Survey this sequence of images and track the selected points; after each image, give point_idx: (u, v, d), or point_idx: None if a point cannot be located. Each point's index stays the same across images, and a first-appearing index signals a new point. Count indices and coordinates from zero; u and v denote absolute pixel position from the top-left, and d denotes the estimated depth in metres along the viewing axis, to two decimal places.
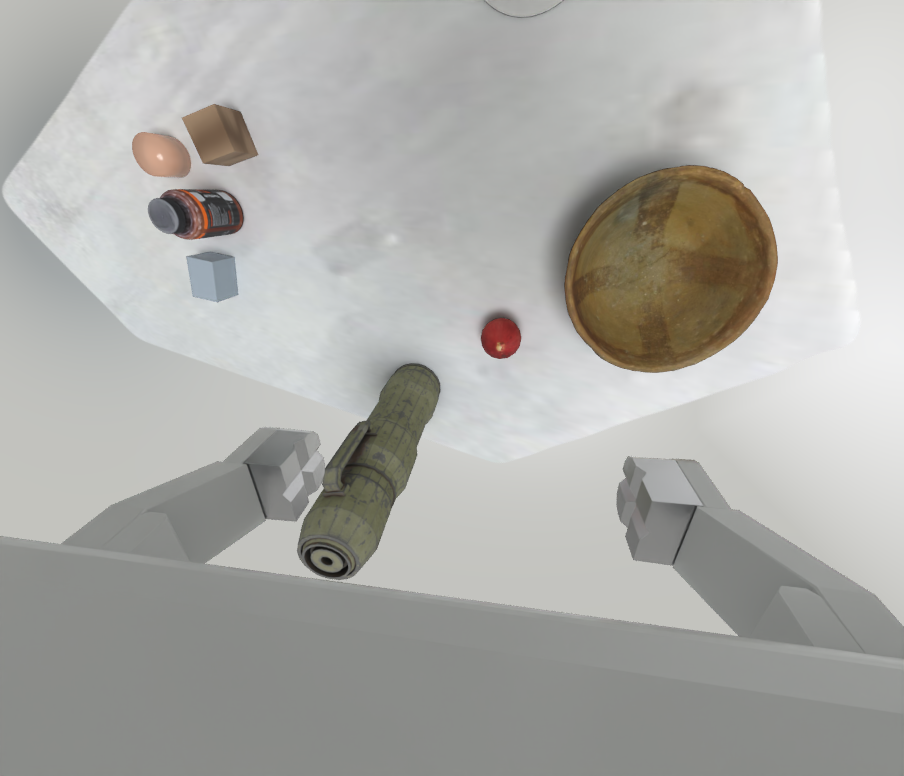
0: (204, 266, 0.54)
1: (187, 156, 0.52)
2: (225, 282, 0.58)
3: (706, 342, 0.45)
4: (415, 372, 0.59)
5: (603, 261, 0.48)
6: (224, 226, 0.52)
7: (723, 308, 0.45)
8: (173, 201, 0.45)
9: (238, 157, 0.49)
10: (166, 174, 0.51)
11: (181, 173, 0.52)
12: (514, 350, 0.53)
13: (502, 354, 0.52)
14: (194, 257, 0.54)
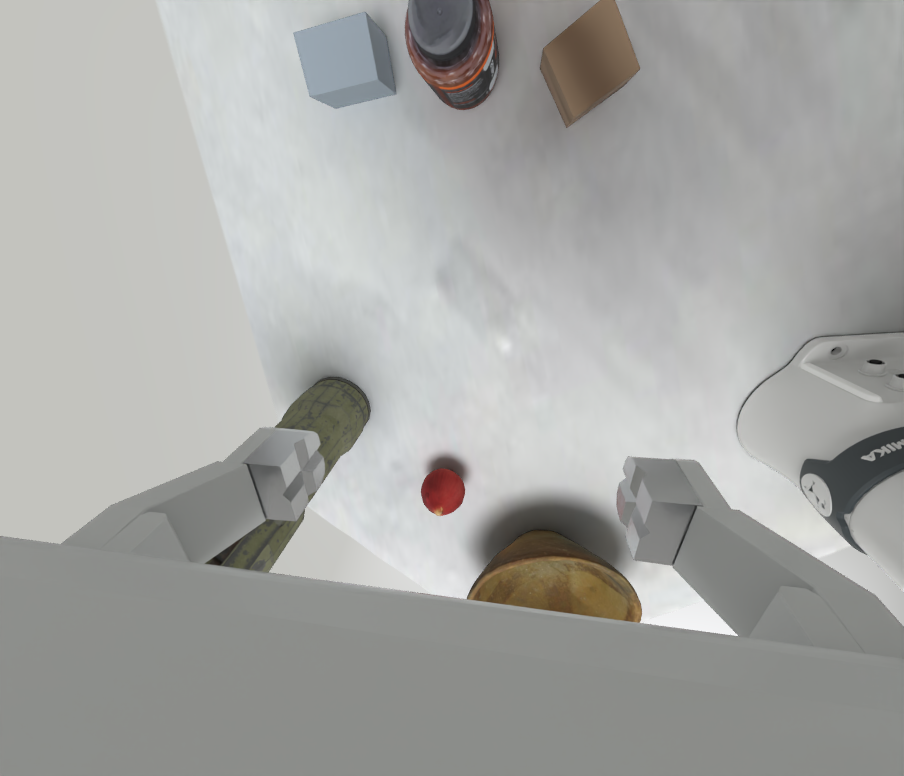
0: (362, 59, 0.29)
1: None
2: (349, 96, 0.32)
3: None
4: (360, 419, 0.47)
5: None
6: (447, 98, 0.29)
7: None
8: (473, 27, 0.23)
9: (560, 103, 0.30)
10: None
11: None
12: None
13: (430, 510, 0.48)
14: (370, 30, 0.28)
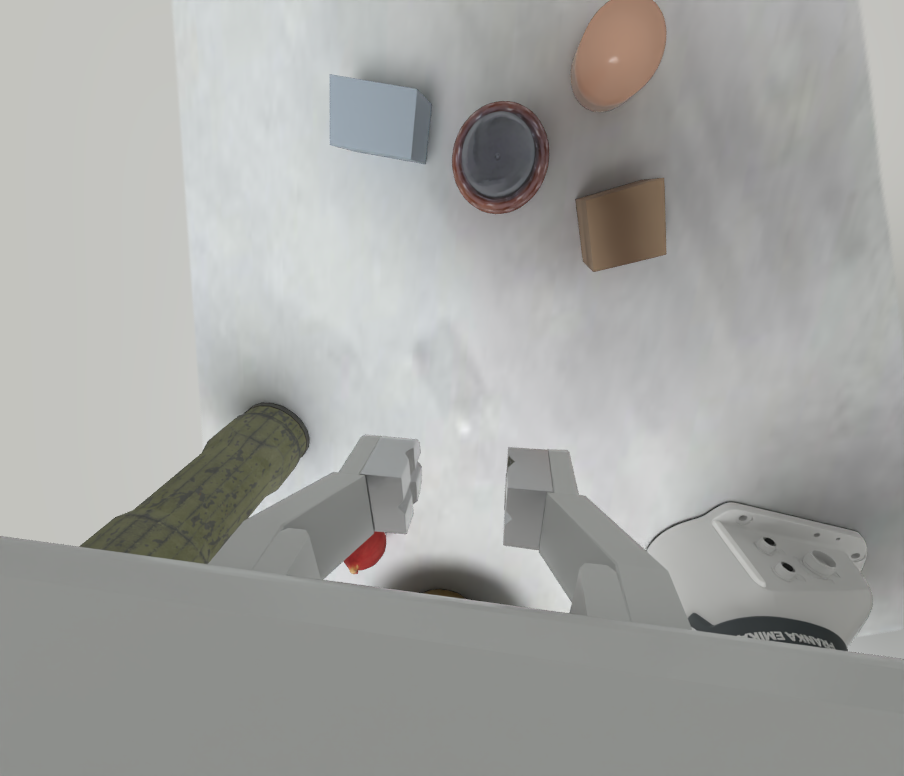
0: (400, 134, 0.26)
1: (603, 110, 0.27)
2: (375, 154, 0.28)
3: None
4: (295, 459, 0.43)
5: None
6: None
7: None
8: (526, 178, 0.21)
9: (584, 244, 0.30)
10: (579, 75, 0.24)
11: (577, 92, 0.26)
12: None
13: (345, 563, 0.46)
14: (416, 108, 0.25)
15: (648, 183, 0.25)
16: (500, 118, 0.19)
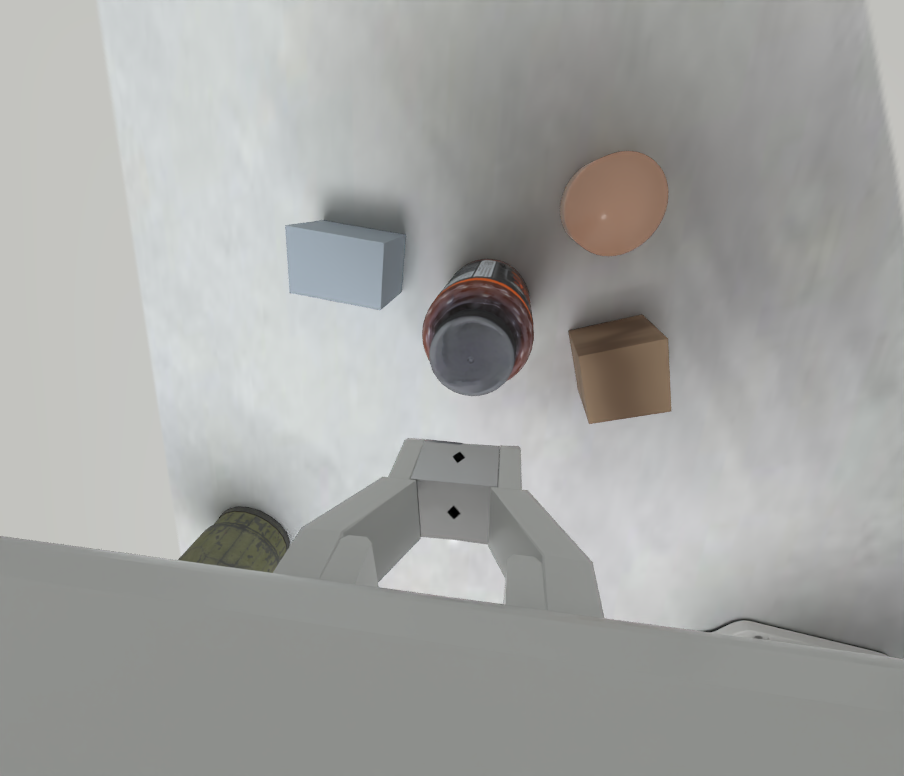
0: (367, 285, 0.23)
1: None
2: None
3: None
4: (273, 570, 0.40)
5: None
6: None
7: None
8: None
9: (579, 382, 0.27)
10: (569, 228, 0.21)
11: (567, 232, 0.23)
12: None
13: None
14: (385, 259, 0.22)
15: (649, 343, 0.22)
16: (472, 324, 0.16)
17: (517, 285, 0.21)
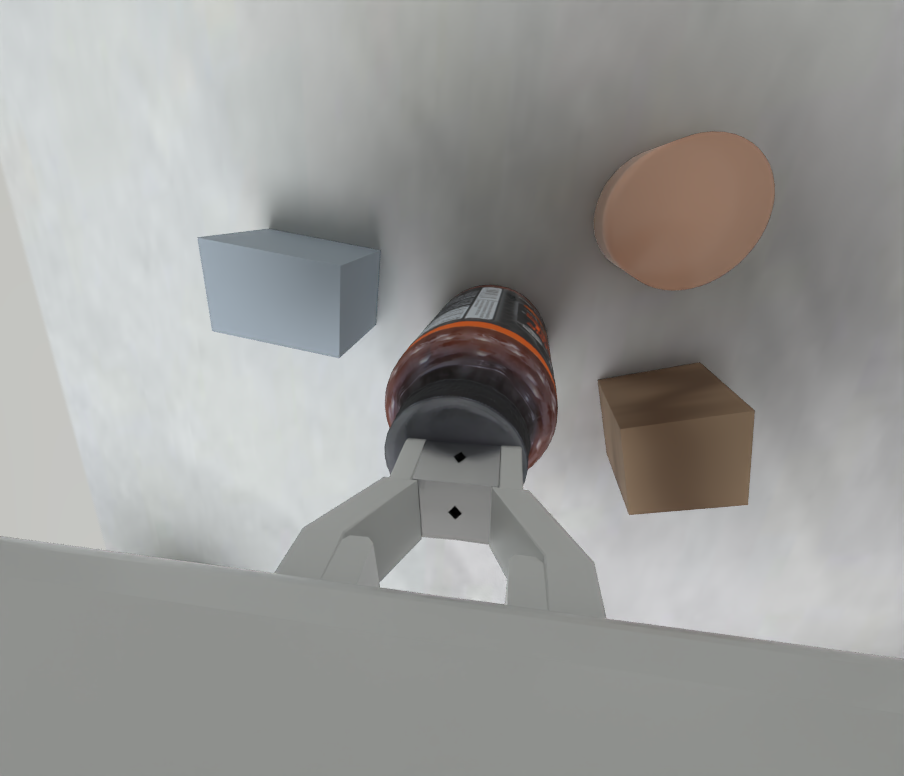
0: (319, 324, 0.16)
1: None
2: None
3: None
4: None
5: None
6: None
7: None
8: None
9: (612, 450, 0.20)
10: (613, 248, 0.14)
11: (605, 252, 0.16)
12: None
13: None
14: (343, 288, 0.15)
15: (726, 415, 0.15)
16: (455, 411, 0.09)
17: (532, 329, 0.14)
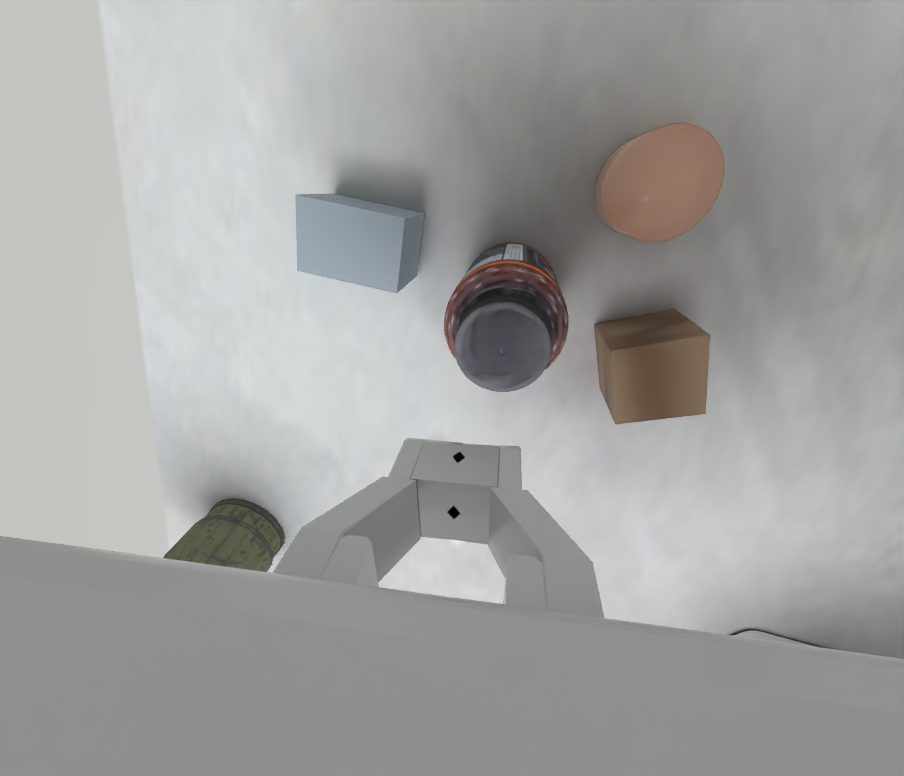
0: (383, 265, 0.21)
1: None
2: None
3: None
4: (267, 566, 0.38)
5: None
6: None
7: None
8: None
9: (604, 379, 0.25)
10: (609, 209, 0.19)
11: (603, 215, 0.21)
12: None
13: None
14: (404, 236, 0.20)
15: (689, 339, 0.20)
16: (506, 311, 0.14)
17: (549, 271, 0.19)
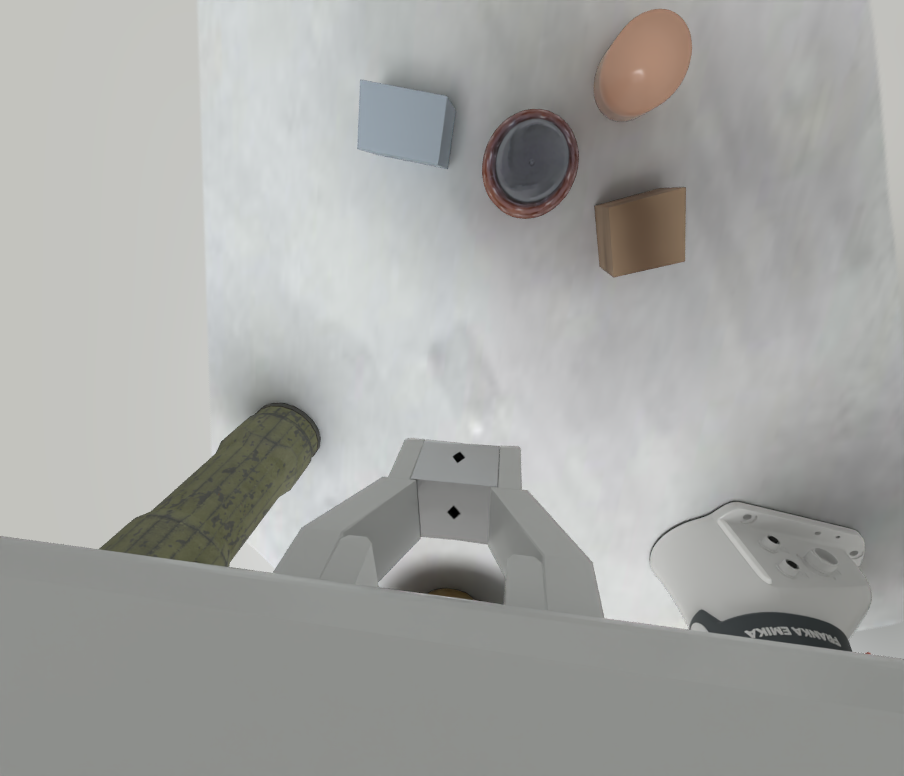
0: (428, 139, 0.26)
1: (624, 120, 0.28)
2: (399, 158, 0.29)
3: None
4: (308, 459, 0.43)
5: None
6: None
7: None
8: None
9: (603, 249, 0.30)
10: (605, 87, 0.25)
11: (600, 101, 0.27)
12: None
13: None
14: (445, 114, 0.25)
15: (670, 192, 0.26)
16: (536, 125, 0.20)
17: None
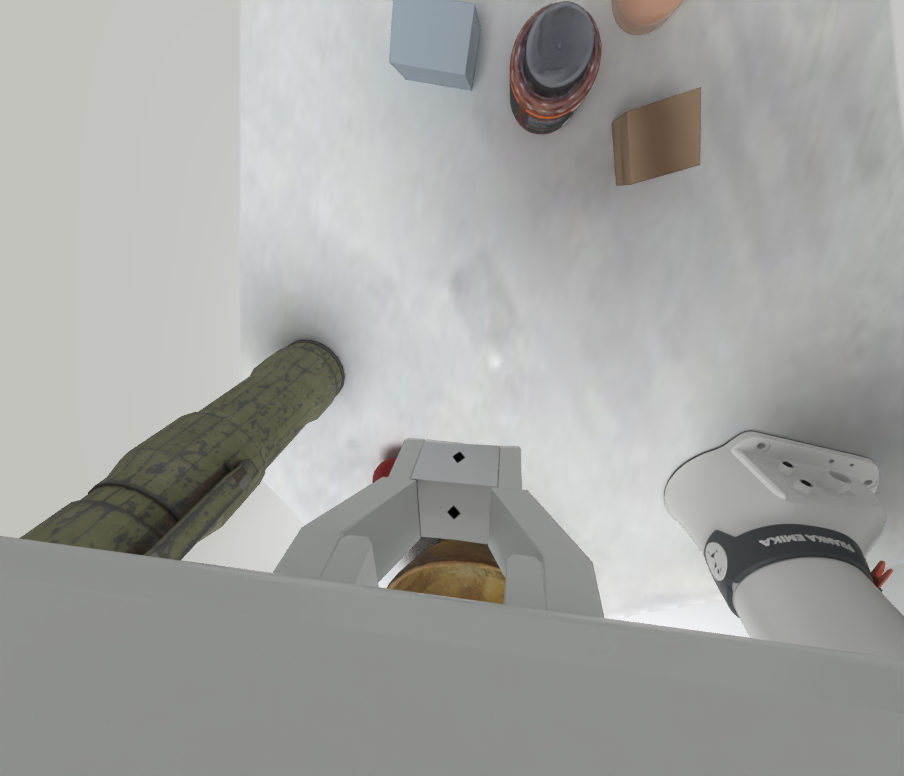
0: (456, 49, 0.28)
1: (641, 32, 0.29)
2: (427, 75, 0.31)
3: None
4: (333, 392, 0.45)
5: None
6: (525, 120, 0.29)
7: None
8: (581, 73, 0.23)
9: (620, 163, 0.32)
10: None
11: (618, 12, 0.28)
12: None
13: None
14: (472, 24, 0.27)
15: (686, 93, 0.27)
16: (564, 8, 0.21)
17: None
